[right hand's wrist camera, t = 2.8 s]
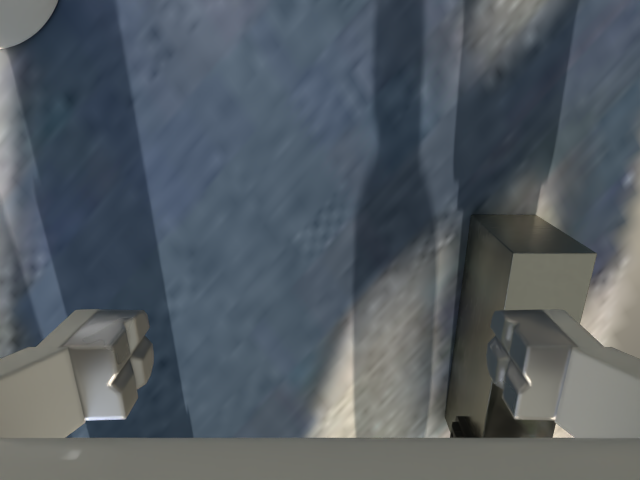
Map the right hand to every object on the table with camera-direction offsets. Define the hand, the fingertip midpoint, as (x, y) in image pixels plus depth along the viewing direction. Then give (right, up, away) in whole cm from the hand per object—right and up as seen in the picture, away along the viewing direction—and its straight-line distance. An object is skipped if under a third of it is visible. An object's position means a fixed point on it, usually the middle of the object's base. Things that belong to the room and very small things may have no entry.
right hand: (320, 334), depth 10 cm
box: (+16, -6, +32) cm, 37 cm away
